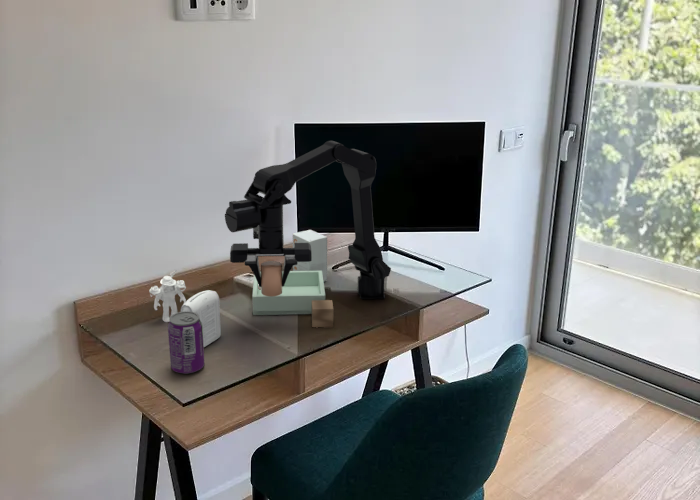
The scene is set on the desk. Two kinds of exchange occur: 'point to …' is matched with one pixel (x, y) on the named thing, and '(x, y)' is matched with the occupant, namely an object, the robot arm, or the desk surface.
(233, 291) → the desk surface
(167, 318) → the flower shoulder figurine
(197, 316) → the beverage can
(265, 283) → the terracotta cylinder
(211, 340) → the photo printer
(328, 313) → the walnut block
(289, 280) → the tote
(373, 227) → the robot arm
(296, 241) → the small box
